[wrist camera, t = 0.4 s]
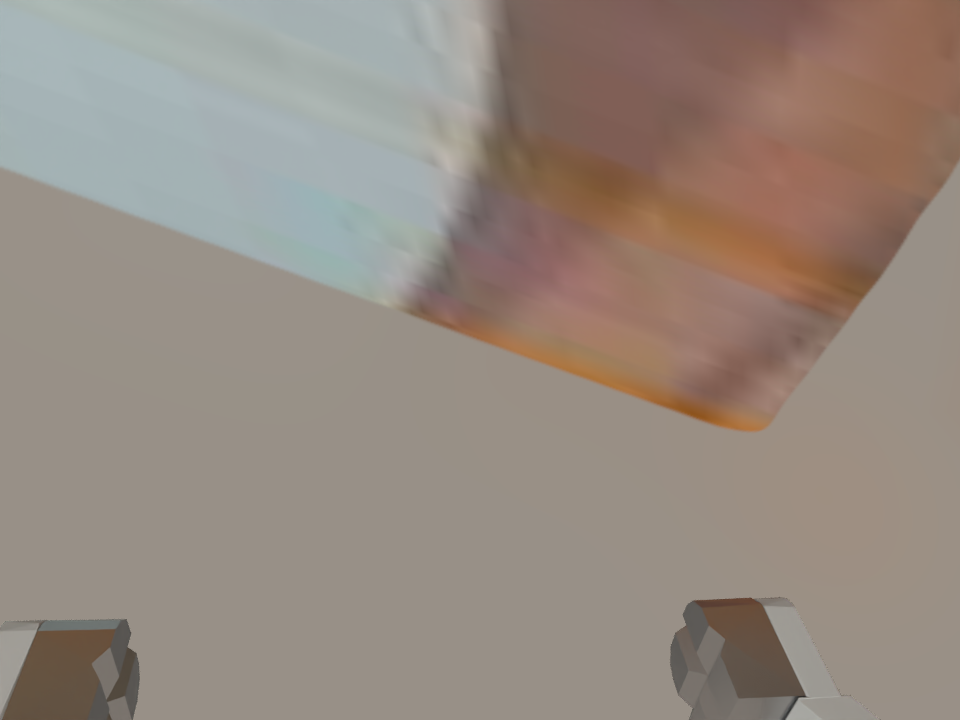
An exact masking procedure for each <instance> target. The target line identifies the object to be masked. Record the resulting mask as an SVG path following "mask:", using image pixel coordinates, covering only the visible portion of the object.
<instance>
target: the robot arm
mask: <svg viewBox="0 0 960 720" xmlns="http://www.w3.org/2000/svg"><path fill="white" fill-rule="evenodd" d="M683 617H684V620H685V623H686V626H685V627H683V628H682V629H680V630H679V631H678V632H676V633H675V636H674V639H673V642H672V644H671V657H670V663H671V664H670V665H671V670H672V676H673V680H674V683H675V686H676V690H677V693H678V695H679V696H680V697H681V698H682V699H683V700H684V701H686V703H688V705H690V706H691V707H692V708H693V709H692V712H691V715H690V718H689V720H880V719H879V718H878V717H877V716H876V715H874V714H873V713H872V712H870V711H869V710H868V709H867V708H866V707H864V706H863V705H862V704H861V703H860V702H858V701H857V700H856V699H855V698H853V697H852V696H851V695H841V694H840V692H839V690H838V688H837V686H836V684H835V682H834V680H833V679H832V677H831V675H830V673H829V671H828V669H827V667H826V665H825V663H824V661H823V659H822V658H821V656H820V654H819V652H818V650H817V648H816V646H815V644H814V642H813V641H812V639H811V637H810V635H809V633H808V631H807V629H806V627H805V625H804V623H803V622H802V620H801V618H800V616H799V614H798V612H797V610H796V608H795V606H794V605H793V603H791V602H790V601H789V600H788V599H787V598H780V597H779V598H761V599H752V598H736V599H717V600H696V601H692V602H690V603H689V604H688V605H687V606H686V609H685V611H684V613H683ZM130 636H131V632H130V628H129V625H128V622H127V619H109V620H50V621H48V620H37V621H5V622H4V623H3V625H2V626H1V627H0V720H133V717H134V712H135V708H136V704H137V698H138V690H139V680H140V676H139V675H140V674H139V662H138V658H137V654H136V653H135V652H134V651H132V650H131V649H129V648H128V643H129V640H130Z"/></svg>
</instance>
